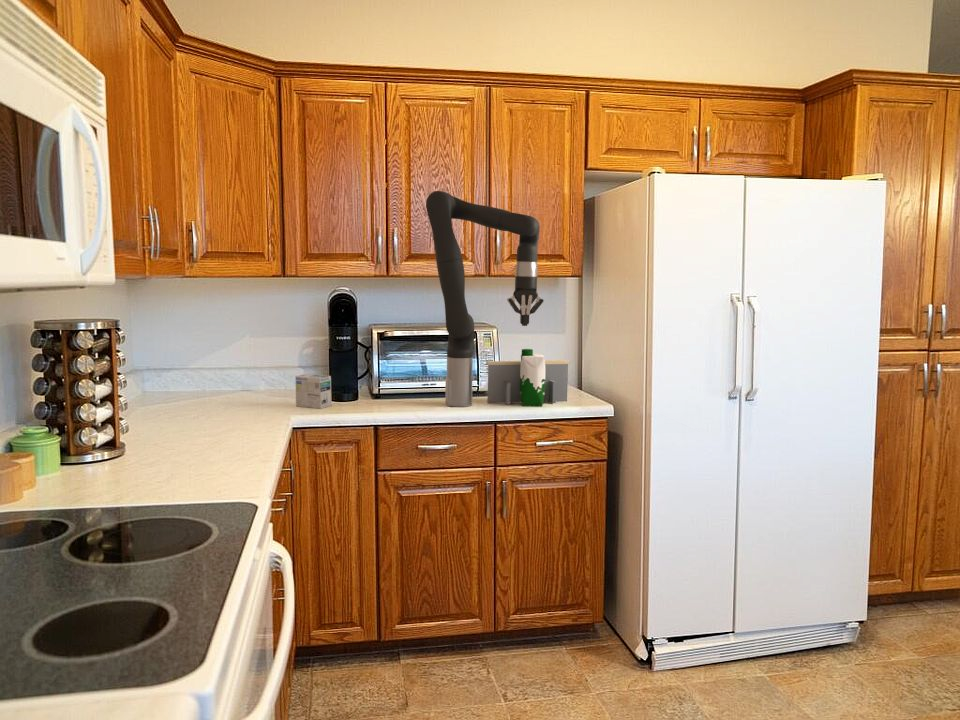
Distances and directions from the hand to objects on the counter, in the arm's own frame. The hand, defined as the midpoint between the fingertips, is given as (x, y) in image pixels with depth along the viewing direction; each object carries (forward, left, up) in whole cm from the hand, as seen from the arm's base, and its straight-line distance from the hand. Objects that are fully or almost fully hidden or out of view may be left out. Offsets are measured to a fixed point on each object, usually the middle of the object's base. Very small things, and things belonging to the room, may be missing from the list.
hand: (524, 325), depth 252 cm
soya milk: (+6, +7, -29) cm, 31 cm away
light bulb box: (-72, +15, -30) cm, 79 cm away
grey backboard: (+5, +11, -29) cm, 32 cm away
